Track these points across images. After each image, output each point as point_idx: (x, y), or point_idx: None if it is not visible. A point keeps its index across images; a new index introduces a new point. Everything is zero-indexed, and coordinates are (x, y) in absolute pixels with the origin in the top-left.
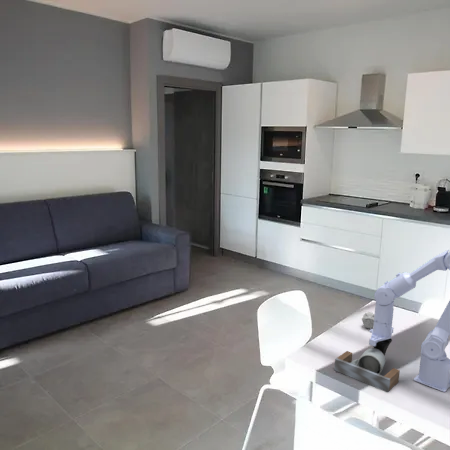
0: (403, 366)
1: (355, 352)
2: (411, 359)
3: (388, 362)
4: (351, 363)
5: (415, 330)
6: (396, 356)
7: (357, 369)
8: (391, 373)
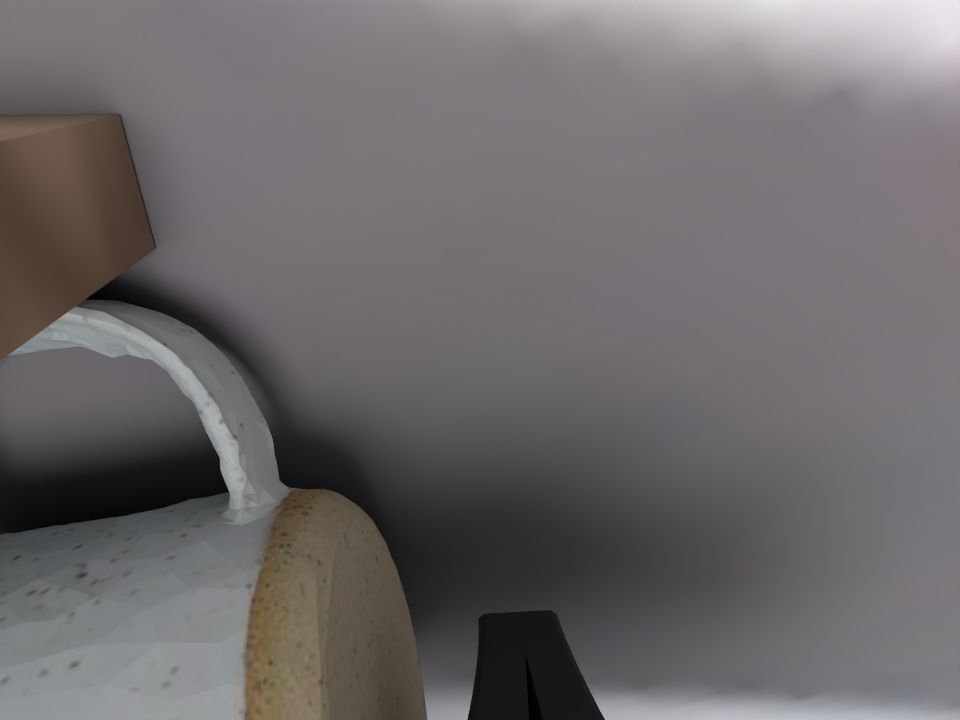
0: (690, 703)
1: (714, 38)
2: (928, 691)
3: (683, 585)
4: None
5: None
6: (932, 579)
7: None
8: None
